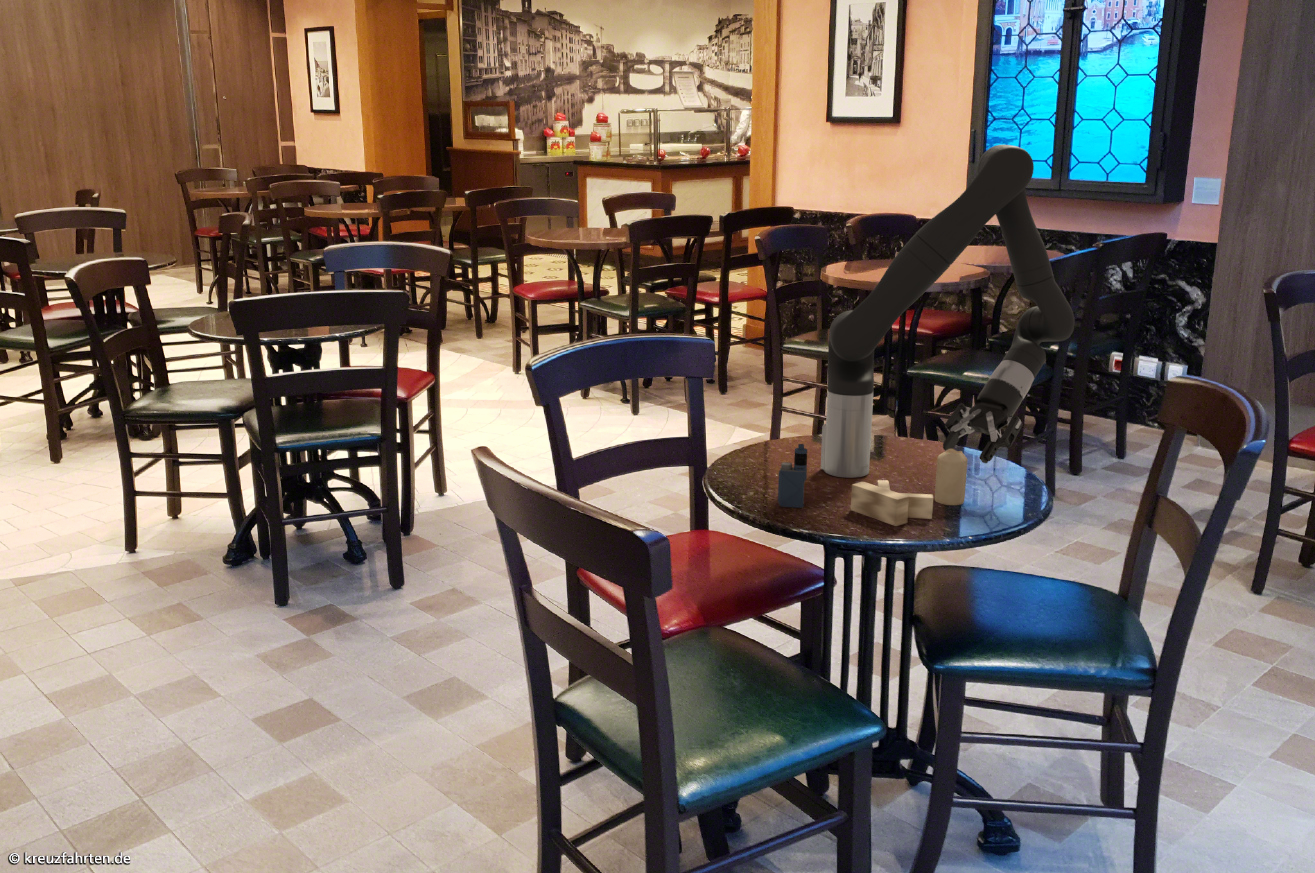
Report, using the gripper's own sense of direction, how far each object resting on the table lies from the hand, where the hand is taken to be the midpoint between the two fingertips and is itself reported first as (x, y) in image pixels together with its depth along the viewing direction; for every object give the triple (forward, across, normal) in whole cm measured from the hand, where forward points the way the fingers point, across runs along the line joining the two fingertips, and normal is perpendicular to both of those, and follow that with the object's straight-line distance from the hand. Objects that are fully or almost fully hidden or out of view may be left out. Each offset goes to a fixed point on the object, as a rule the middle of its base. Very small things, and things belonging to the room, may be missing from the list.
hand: (964, 455), depth 208 cm
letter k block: (+18, -2, -7) cm, 20 cm away
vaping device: (+27, -16, -15) cm, 35 cm away
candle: (+8, 0, +4) cm, 9 cm away
